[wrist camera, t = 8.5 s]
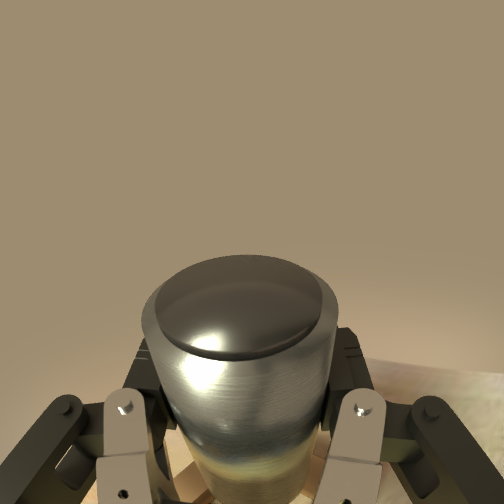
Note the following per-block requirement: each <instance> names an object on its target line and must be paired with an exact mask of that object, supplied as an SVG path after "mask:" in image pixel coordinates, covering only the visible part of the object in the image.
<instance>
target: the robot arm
mask: <svg viewBox="0 0 504 504" xmlns="http://www.w3.org/2000/svg"><path fill="white" fill-rule="evenodd" d="M320 423H321V430H322V431H328V430H330V436H331V441H330V445H329V448H328V452H327V455H326V459H325V462H324V466H323V469H322V472H321V475H320V478H319V482H318V485H317V488H316V491H315V494H314V496H313V499H312V502H311V504H376V500H377V496H378V491H379V486H380V480H381V475H382V464H380V461H387V462H389V463H390V465H391V466H392V468H393V470H394V472H395V473H396V475H397V477H398V479H399V480H400V482H401V484H402V486H403V487H404V489H405V491H406V493H407V494H408V496H409V498H410V500H411V501H412V503H413V504H504V479H503V477H502V476H501V475H500V473H499V472H498V470H497V469H496V468H495V466H494V465H493V463H492V462H491V461H490V459H489V458H488V456H487V455H486V454H485V452H484V451H483V450H482V448H481V447H480V446H479V444H478V443H477V442H476V440H475V439H474V438H473V436H472V435H471V434H470V432H469V431H468V430H467V428H466V427H465V426H464V424H463V423H462V422H461V421H460V419H459V418H458V417H457V415H456V414H455V413H454V411H453V410H452V409H451V408H450V406H449V405H448V404H447V403H446V402H445V401H444V400H443V399H441V398H439V397H436V396H424V397H421V398H419V399H418V400H416V401H415V403H414V404H413V405H405V404H396V403H391V402H388V401H386V400H384V398H383V397H382V396H381V395H380V394H379V393H378V392H376V391H375V390H374V387H373V384H372V381H371V378H370V375H369V372H368V369H367V366H366V362H365V359H364V357H363V354H362V351H361V349H360V344H359V342H358V339H357V336H356V335H355V334H354V333H353V332H352V331H351V330H350V329H349V328H348V327H347V328H338V326H337V328H336V335H335V342H334V348H333V355H332V361H331V367H330V373H329V378H328V384H327V389H326V394H325V400H324V405H323V410H322V415H321V419H320ZM176 427H177V421H176V419H175V417H174V414H173V412H172V410H171V407H170V405H169V402H168V400H167V397H166V395H165V392H164V390H163V387H162V384H161V382H160V379H159V376H158V374H157V371H156V368H155V366H154V363H153V360H152V357H151V354H150V351H149V348H148V345H147V342H146V339H145V338H144V339H143V341H142V343H141V345H140V347H139V351H138V352H137V354H136V358H135V359H134V361H133V364H132V366H131V369H130V371H129V373H128V375H127V378H126V380H125V383H124V385H123V388H122V389H118V390H116V391H114V392H112V393H111V394H110V395H109V396H108V397H107V398H106V400H105V402H101V403H93V404H82V402H81V400H80V399H79V398H78V397H76V396H74V395H62V396H60V397H58V398H56V399H55V400H54V401H53V402H52V403H51V404H50V405H49V406H48V407H47V409H46V410H45V411H44V412H43V414H42V415H41V416H40V417H39V418H38V419H37V421H36V422H35V423H34V424H33V425H32V427H31V428H30V429H29V430H28V431H27V433H26V434H25V435H24V436H23V438H22V439H21V440H20V441H19V443H18V444H17V445H16V446H15V448H14V449H13V450H12V452H11V453H10V454H9V455H8V456H7V458H6V459H5V460H4V461H3V463H2V464H1V465H0V504H80V503H81V502H82V500H83V499H84V497H85V496H86V494H87V493H88V491H89V490H90V488H91V487H92V485H93V484H94V482H95V480H96V479H97V495H98V504H197V503H188V502H181V501H180V498H179V495H178V493H177V491H176V488H175V486H174V482H173V478H172V473H171V468H170V463H169V457H168V452H167V446H166V442H165V439H164V436H165V432H166V429H171V430H176ZM71 445H72V447H71V448H70V446H71ZM69 448H70V450H69V451H68V452H67V450H68V449H69ZM66 452H67V454H66V455H65V453H66ZM64 455H65V457H64V458H63V459H62V457H63V456H64ZM61 459H62V461H61V462H60V463H59V461H60V460H61ZM58 463H59V465H58V466H57V464H58ZM56 466H57V468H56V469H55V467H56Z"/></svg>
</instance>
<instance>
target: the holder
mask: <svg viewBox="0 0 504 504" xmlns="http://www.w3.org/2000/svg"><path fill="white" fill-rule="evenodd" d="M324 462H325V460H324V459H322V458H320V457H318V456H316V455H314V454H313V455H312V459H311V463H310V467H309V470H308V474H307V478H306V481H305V485H304V487H303V489H302V490H301V492H300V493H301V494H303V495H305V496H307V497H309V498H311V499H313V496H314V494H315V491H316V488H317V485H318V482H319V478H320V475H321V472H322V469H323V466H324ZM173 482H174V486H175V488H176V491H177V493H178V495H179V498H180V501H181V502H188V503H197V504H209V503H210V502H212V501H213V500H214V499H215V497H214V496H213V495H212V493H211V492H210V490H209V488H208V486H207V485H206V483H205V481H204V479H203V477H202V475H201V473H200V471H199V469H198V467H197V465H196V463H195V461H193V462H192V463H191V464H190V465H189V466H188V467H186V468H185V469H184V470H183V471H182V472H181V473H179V474H178V475H177V476H176V477H175V478H173Z"/></svg>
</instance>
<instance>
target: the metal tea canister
mask: <svg viewBox="0 0 504 504" xmlns="http://www.w3.org/2000/svg"><path fill="white" fill-rule="evenodd" d="M337 320H338V303H337V299H336V296H335V294H334V292H333V291H332V289H331V288H330V287H329V285H328V284H327V283H326V282H324V280H322V279H321V278H320V277H318V276H317V275H316V274H314V273H312V272H310V271H309V270H307V269H305V268H302V267H300V266H299V265H296V264H294V263H292V262H289V261H286V260H283V259H279V258H275V257H269V256H261V255H233V256H225V257H219V258H214V259H210V260H206V261H203V262H200V263H197V264H194V265H192V266H190V267H188V268H186V269H183V270H182V271H180V272H178V273H177V274H175V275H174V276H173V277H171V278H170V279H168V280H167V281H166V282H164V283H163V284H162V285H160V286H159V287H158V288H157V289H156V290H155V291H154V292H153V294H152V295H151V296H150V297H149V299H148V300H147V302H146V304H145V307H144V309H143V312H142V318H141V322H142V330H143V333H144V336H145V339H146V342H147V345H148V348H149V351H150V354H151V357H152V360H153V363H154V366H155V368H156V371H157V374H158V376H159V379H160V382H161V384H162V387H163V390H164V392H165V395H166V397H167V400H168V402H169V405H170V407H171V410H172V412H173V414H174V417H175V419H176V421H177V424H178V426H179V428H180V431H181V433H182V435H183V437H184V440H185V442H186V444H187V446H188V448H189V450H190V452H191V455H192V457H193V459H194V461H195V463H196V465H197V467H198V469H199V471H200V473H201V475H202V477H203V479H204V481H205V483H206V485H207V486H208V488H209V490H210V492H211V493H212V495H213V496H214V497H215V498H216V499H217V500H218V501H219V502H220V503H222V504H289V503H290V502H292V501H293V500H294V499H295V498H296V497H297V496H298V495H299V493H300V492H301V490H302V489H303V487H304V485H305V481H306V478H307V474H308V470H309V467H310V463H311V459H312V455H313V450H314V446H315V442H316V438H317V433H318V429H319V424H320V419H321V415H322V410H323V405H324V400H325V394H326V389H327V384H328V378H329V373H330V367H331V361H332V355H333V348H334V342H335V335H336V328H337Z"/></svg>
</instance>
